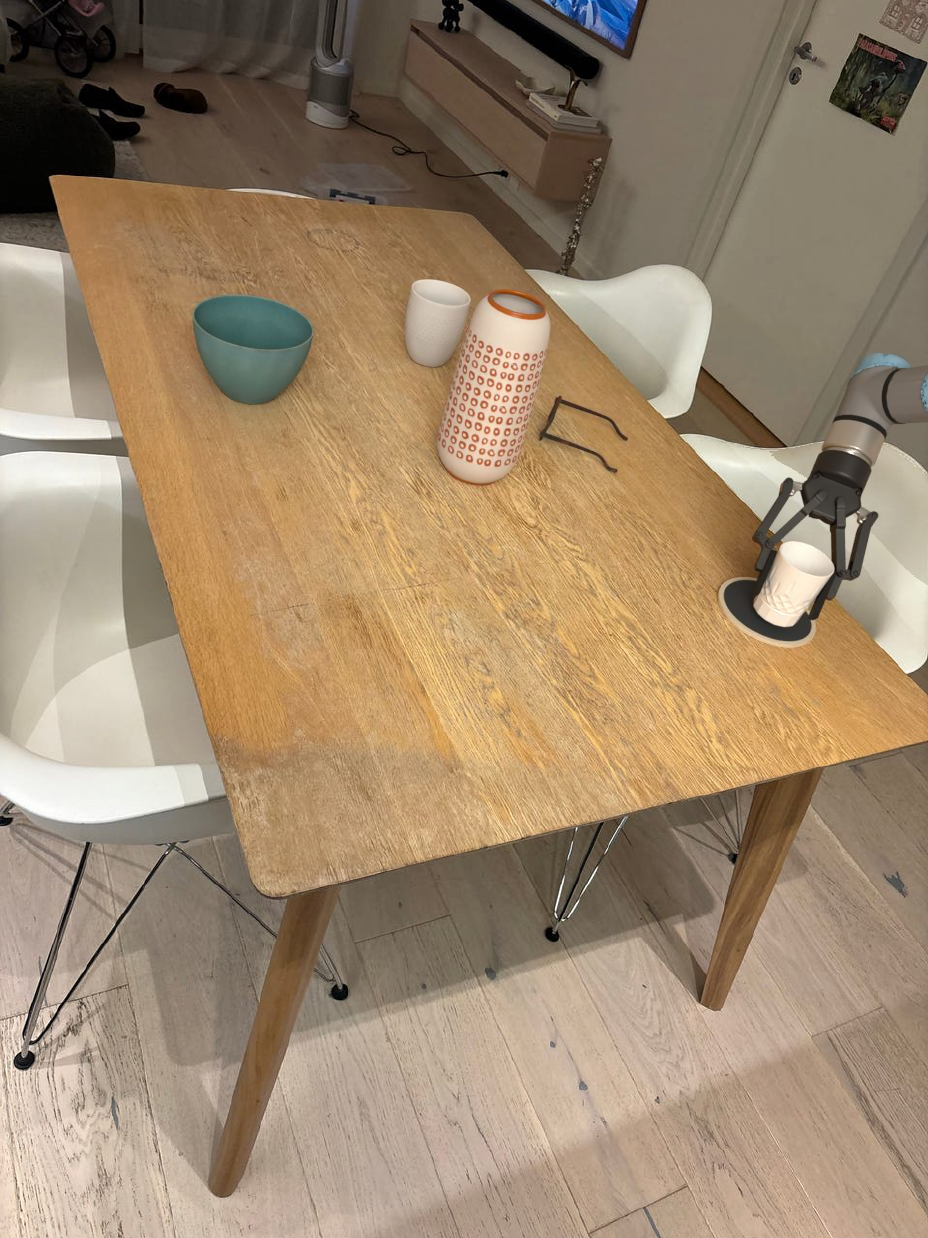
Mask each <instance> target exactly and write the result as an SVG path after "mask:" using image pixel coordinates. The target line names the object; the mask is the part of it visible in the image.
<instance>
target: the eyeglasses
mask: <svg viewBox="0 0 928 1238" xmlns="http://www.w3.org/2000/svg"><path fill="white" fill-rule="evenodd" d="M562 398H563V396H562V395H559V396H556V397H555V399H554V404H553V406H552V409H551V410H550V412H549V414H548V418H547V422H546V425H544V428H543V429H542V430H540V432H539V434H538V435H539V438H538V439H539V441H542V440H543V439H544V438H545V439H547V440H551V441H553V442H556V443H559V444H561V445H565V446H568V447H570V448H573V449H576V450H580V451H582V452H584V453H585V452H586V453H588V454H590V455H593V456H595V457H597V458H598V459H599V460H600V462H601V463H602V464H603V466H604V467H605V469H606V470H608V471H609V472H613V473H618V468H614V467H611V466H610V465H609V464H608V462H607V461H606V460H605V458H604V456H603V455H601V454H600V453H598V452H596V451H595V450H591V449H590V448H587V447H584V446H583V445H579V444H577V443H574V442H572V441H569V440H567V439H564V438H561V437H559V436H555V435H553V434H550V433H548V430H549V428H550V427H551V425H552V423H553V421H554V420H555V417H556V413H557V411H558V409H559V407H560V405H561V404H562V405H563V406H567V407H569V408H572V409H575V410H578V411H581V412H584V413H587V414H590V415H593V416H596V417H599V418H601V419H604V420H605V421H608V422H609V423H610V424H611V425H612V427H613V429H614V431H615V433H616V434H617V435H618V436H619V437H620V438H621V439H622V440H624V441H625V442H626V441H628V440H629V438H628V436H626V435H624V434H623V433H622V432H621V431H620V429H619V427H618V426H617V424H616V423H615V421H614V420H613V419H612V418H610V417H609V416H607V415H605V414H602V413H600V412H597V411H595V410H592V409H590V408H587V407H584V406H581V405H579V404H577V403H573V402H571V401H568V400H566V399H562Z"/></svg>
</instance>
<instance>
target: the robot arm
mask: <svg viewBox="0 0 928 1238" xmlns="http://www.w3.org/2000/svg"><path fill="white" fill-rule="evenodd" d="M920 423H921V424H922V423H923V424H924V423H928V364H927V365H920V366H913V367H912V366H911V365H910V363H909V362H908V361H906V360H905V359H903V358H902V357H900V356H898V355H896V354H892V353H888V354H886V353H885V354H884V353H883V352H873V353H870V354H866V355H865V356H864V357H863V358H861V359H860V361H858V363H857V366H856V367H855V369H854V371H853V373H852V375H851V377H849V380H848V382H847V385H846V389H845V392H844V393H843V395H842V398H841V401H840V403H839V406H838V409H837V410H836V413H835V415H834V418H833V420H832V421H831V425H830V427H829V429H828V432H827V434H826V436H825V439H824V441H823V443H822V445H821V448H820V450H821V452H819V453H818V454H817V457H816V459H815V461H814V464H813V465H812V468H811V470H810V473H809V475H808V478H807V479H806V480H805V481H803V482H801V481H795V480H794V479H793V478H792V477H790V476H789V477H788V476H787V477H786V478H784V479H783V481H782V482H781V484H780V487H779V491H778V496H777V498H776V499H775V500H774V502H773V504H772V505H771V507H770V509H769V510H768V512H767V513H766V515H765V516H764V518H763V519H762V521H761V522H760V523H759V526H758V527H757V529H756V530H755V531H754V533H753V535H752V537H751V540H752V541H753V542H754V543H756V544H757V545H759V547H760V552H759V554H758V556H757V559H756V561H755V563H754V566H753V570H754V571H756V572H758V573H759V574H758V576H757V577H756V578H757V581H756V583H755V585H754V588H753V590H752V592H751V595H752V596H755V597H756V596H757V595H759V594H760V592H761V590H762V587H763V585H764V583H765V580H766V578H767V576H768V573H769V571H770V569H771V566H772V564H773V562H774V559H775V557H776V554H777V552H778V550H775V549H774V547H775V546H776V545H777V544H779V543H780V542H781V541H782V540H783V539H784V538H785V537H786V536H787V535H788V534H789V533H790V532H791V531H793V530H794V529H795V528H796V527H797V526H798V525H800V523H801V522H802V521H803V520H804V519H805V518H811V519H814V520H819V521H821V522H822V523H824V524H826V525H828V526H829V533H830V560H831V561H832V563H833V565H834V573H833V574H832V576H831V577H830V578H829V580H828V581H827V583H826V584H825V586H824V587H823V588H822V590H821V591H820V593H819V594H818V595H817V597H816V598H815V600H814V601H813V604H812V607H811V609H810V613H809V616H808V618H807V619H810V620H812V621H813V620H815V621H816V620H817V619H819V617H820V614H821V612H822V609H823V607H824V606H825V605H824V604H825V603H826V601H830V602H831V601H832V600H834V599H835V598H836V596H837V593H838V591H839V589H840V587H841V584H842V583H843V581H848V582H852V581H854V580H856V579H857V578H859V577H860V576H861V573H862V568H863V564H864V559H865V555H866V550H867V548H868V543H869V538H870V535H871V530H872V527H873V526H874V525H875V523H876V521H877V520H878V518H879V513H878V512H877V511H875V510H872V511H870V510H869V509H866V508H865V507H863V506H862V495H863V493H864V490H865V488H866V486H867V483H868V481H869V479H870V476H871V474H872V468H873V467H874V466H875V465H876V463H877V460H878V457H879V455H880V452H881V450H882V447H883V445H884V443H885V441H886V439H887V436H888V434H889V431H890V430H891V427H892V426H893V425H907V424H920ZM797 492H799V493H800V497H801V500H802V504H803V507H802V508H800V509H799V510H798V512H796V513H795V514H794V515H793V516H792V517H791V518H790V519H789V520H788V521H787V522H785V524H783V525H782V526H781V527H780V528H779V529H778V530H777V531H776V532H775V533H774V534H773V535H772V536H770V537H768V536H767V535H766V534H767V533H768V531H769V530H770V528H771V526H772V525H773V523H774V522H775V520H776V519H777V517H778V516H779V514H780V512H781V511H782V510H783V508H784V506H785V505H786V503H787V502H788V501H789V499H790V497H791V498H792V497H794V496H795V495H796V493H797ZM852 515H856V517H857V518H856V523H857V525H858V526H857V528H856V531H855V535H854V539H853V543H852V548H851V552H850V556H849V560H848V565H846V564H847V560H846V528H847V518H849V517H850V516H852ZM807 516H808V517H807Z"/></svg>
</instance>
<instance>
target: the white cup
mask: <svg viewBox="0 0 928 1238" xmlns="http://www.w3.org/2000/svg"><path fill="white" fill-rule="evenodd" d="M777 551H778V552H777V554H776V557H775V559H774V562H773V564H772V566H771V569H770V571H769V573H768V576H767V578H766V580H765V583H764V585H763V587H762V590H761V592H760V594H759V595H757V596H756V597H755V599H754V605H753V606H754V608H755V610H756V612H757V613H758V614H759V615H760V616H761V617H762V618H763V619H764V620H766V621H768V622H770V623H772V624H774V625H777V626H782V627H790V626H793V625H794V624H796V623H797V622H798V620H799V619H800V618H801V616H802V615H803V613H804V612H805V611H806V610H807V609H809V607H810V606H811V605H812V603H814V602H815V599H816V597H817V595H818V594H819V593H820V591H821V590H822V588H823V587H824V586H825V584H826V583H827V581H828V580H829V578H830V577H831V576H832V574H833V573H834V565H833V563H832V561H831V558H830V557H829V556H828V555H827V554H826V553H824V552H823V551H822V550H820V549H819V548H817V547H815V546H813V545H811V544H809V543H806V542H803V541H798V540H786V541H785V542H784V541H783V542H782V543H781V544H780V546H779V548H778V550H777Z"/></svg>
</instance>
